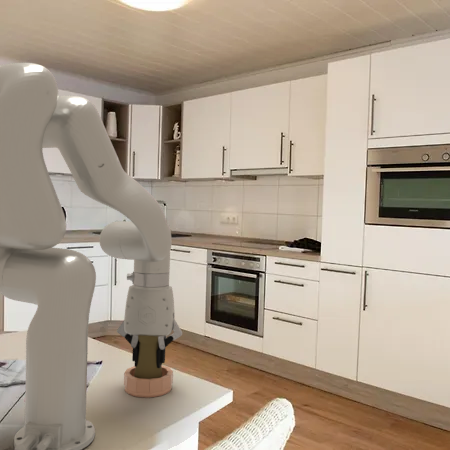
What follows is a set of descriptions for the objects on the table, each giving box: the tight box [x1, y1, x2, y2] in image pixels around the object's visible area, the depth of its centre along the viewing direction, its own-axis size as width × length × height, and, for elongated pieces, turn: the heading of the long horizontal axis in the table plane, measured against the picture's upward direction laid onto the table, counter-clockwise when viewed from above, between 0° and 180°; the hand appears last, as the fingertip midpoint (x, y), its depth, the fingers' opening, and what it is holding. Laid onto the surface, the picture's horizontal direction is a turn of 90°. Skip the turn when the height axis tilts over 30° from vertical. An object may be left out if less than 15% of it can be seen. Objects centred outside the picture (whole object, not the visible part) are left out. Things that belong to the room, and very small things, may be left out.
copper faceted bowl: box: [123, 364, 174, 399], centre depth 102 cm, size 10×10×4 cm
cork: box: [134, 335, 162, 379], centre depth 101 cm, size 6×6×11 cm
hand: (148, 364), depth 101 cm, fingers closed on cork, 4 cm apart
